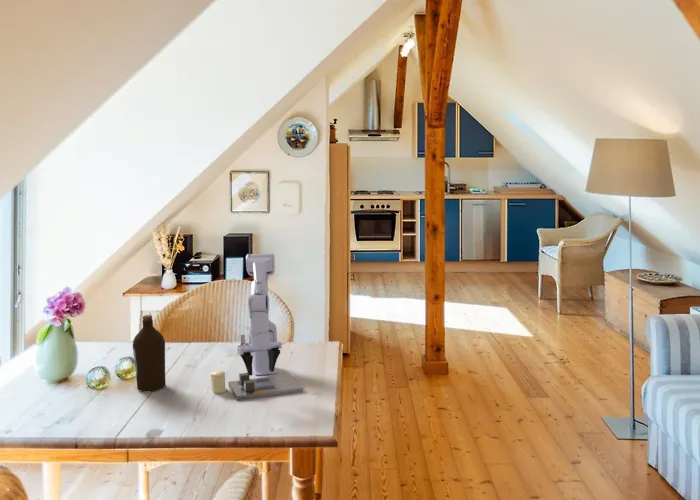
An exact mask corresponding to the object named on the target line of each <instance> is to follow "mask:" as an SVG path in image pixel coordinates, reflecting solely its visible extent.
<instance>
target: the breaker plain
mask: <svg viewBox="0 0 700 500" xmlns="http://www.w3.org/2000/svg"><path fill="white" fill-rule="evenodd" d="M238 376H239V382H240V383H241V384H244V381H248V380H250V379H251V378H250V375H248V373H247V372H244V373H238Z"/></svg>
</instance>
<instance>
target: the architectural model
mask: <svg viewBox="0 0 700 500" xmlns="http://www.w3.org/2000/svg"><path fill="white" fill-rule="evenodd" d="M247 345H250V342H249V341H248V342H247V339H246V335H245V334H241V335H240V344H239V345H237V349H238V348H239V347H244V346H247Z"/></svg>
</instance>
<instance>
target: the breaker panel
mask: <svg viewBox="0 0 700 500" xmlns="http://www.w3.org/2000/svg"><path fill="white" fill-rule="evenodd" d="M250 380H253V381H254V383H255V390H254V391H247V392H246V391H245V390H244V384H241V383H240V382H239V380H232V381H231V380H230V381H228V383H227V384H228V388H229V389H230V391H231V392H232V394H233V396H234V398H235V400H236V401H244V400H250V399H259V398H265V397H267V398H269V397H273V396H280V395H281V396H282V395H289V394H295V393H296V394H298V393H302V392H303V387H302V385H301V384H300V383H299V381H298V380H296V378H295V377H294V376H293V375H292V374H291V373H289V374H280V375H272V376H271V375H270V376H264V377H256V378H250Z"/></svg>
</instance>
